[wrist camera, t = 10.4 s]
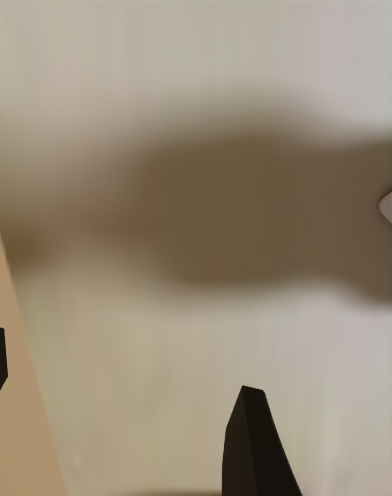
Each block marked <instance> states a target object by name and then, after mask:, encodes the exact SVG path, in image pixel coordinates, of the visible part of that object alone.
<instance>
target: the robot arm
mask: <svg viewBox="0 0 392 496" xmlns="http://www.w3.org/2000/svg"><path fill="white" fill-rule="evenodd" d="M379 210H380V212H381V213H382V214H383V215H384V216H385V217H386V218H387V219H388V220H389V221H390V222H391V223H392V192H390V193H389V194H388V195H387V196H385V197H384V198H383V199H382V200H381V201H380V203H379ZM7 377H8V370H7V358H6V347H5V335H4V328H0V390H1V388H2V386H3V384H4V382H5V381H6V379H7ZM222 496H302V493H301V491H300V489H299V487H298V484H297V482H296V479H295V477H294V475H293V472H292V470H291V467H290V465H289V462H288V459H287V457H286V454H285V452H284V449H283V447H282V444H281V441H280V438H279V435H278V433H277V430H276V427H275V424H274V421H273V418H272V415H271V412H270V408H269V405H268V402H267V398H266V395H265V393H264V391H263V390H260V389H256V388H252V387H248V386H243V385H242V388H241V390H240V393H239V396H238V398H237V401H236V403H235V406H234V409H233V411H232V414H231V417H230V419H229V422H228V425H227V427H226V433H225V442H224V452H223V462H222Z"/></svg>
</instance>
